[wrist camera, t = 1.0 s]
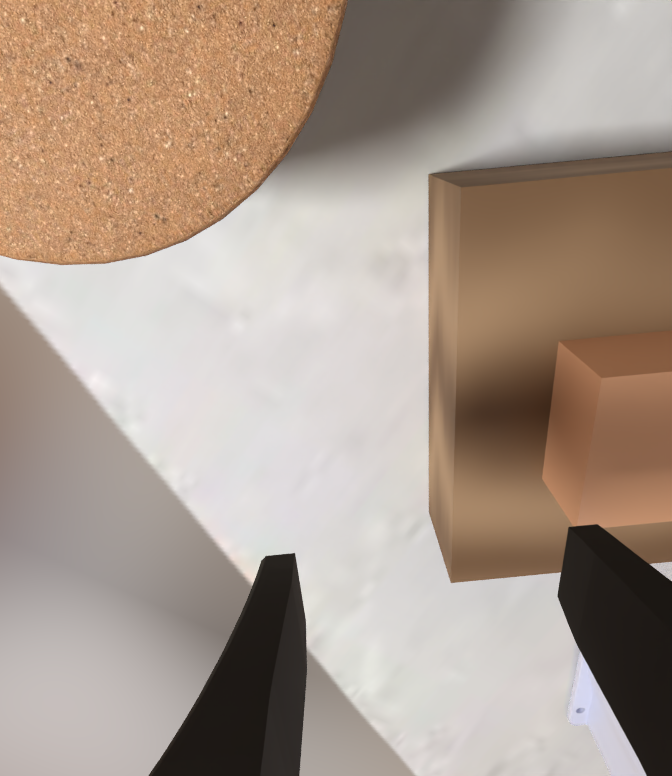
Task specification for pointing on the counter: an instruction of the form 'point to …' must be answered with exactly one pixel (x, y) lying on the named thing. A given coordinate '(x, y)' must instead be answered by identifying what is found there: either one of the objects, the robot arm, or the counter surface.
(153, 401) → the counter surface
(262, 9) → the lidded jar
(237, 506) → the counter surface
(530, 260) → the dark wood platform
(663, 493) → the tile
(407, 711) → the counter surface
